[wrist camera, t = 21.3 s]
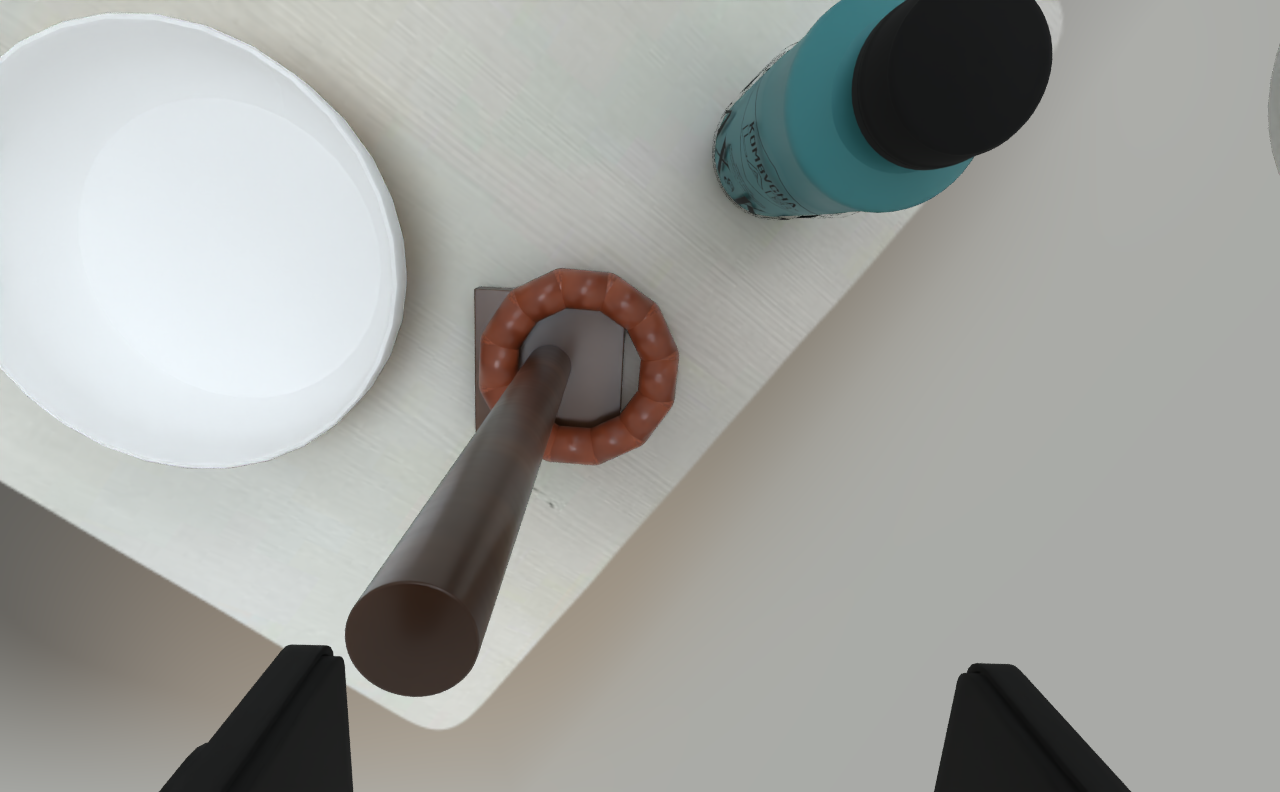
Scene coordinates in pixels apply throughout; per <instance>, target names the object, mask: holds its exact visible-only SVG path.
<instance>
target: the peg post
mask: <svg viewBox="0 0 1280 792" xmlns="http://www.w3.org/2000/svg"><path fill="white" fill-rule="evenodd" d="M513 289H515V288H496V287H478V288H475V289H474V302H475V425H476V433H475V434H474V436H473V437H472V438H471V440H470V441H469V443H468V444H467V446H466V447H465V448H464V450H463V451H462V453H461V454H460V456H459V457H458V458H457V460H456V461H455V463H454V464H453V466H452V467H451V468H450V470H449V471H448V473H447V474H446V476H445V477H444V478H443V480H442V481H441V483H440V484H439V486H438V487H437V488H436V490H435V491H434V493H433V494H432V496H431V497H430V498H429V500H428V501H427V503H426V504H425V506H424V507H423V508H422V510H421V511H420V513H419V514H418V516H417V517H416V518H415V520H414V521H413V523H412V524H411V526H410V527H409V528H408V530H407V531H406V533H405V534H404V536H403V537H402V538H401V540H400V541H399V543H398V544H397V546H396V547H395V548H394V550H393V551H392V553H391V554H390V556H389V557H388V558H387V560H386V561H385V563H384V564H383V566H382V567H381V568H380V570H379V571H378V573H377V574H376V575H375V577H374V578H373V580H372V581H371V583H370V584H369V585H368V587H367V588H366V590H365V591H364V593H363V594H362V595H361V597H360V598H359V600H358V601H357V603H356V604H355V605H354V607H353V608H352V610H351V612H350V614H349V616H348V619H347V622H346V628H345V642H346V648H347V651H348V654H349V656H350V659H351V661H352V662H353V664H354V666H355V667H356V668H357V670H358V671H359V672H360V673H361V674H362V675H363V676H364V677H365V678H366V679H367V680H368V681H370V682H371V683H372V684H374V685H376V686H377V687H379V688H381V689H383V690H385V691H388V692H391V693H394V694H397V695H402V696H410V697H423V696H430V695H434V694H438V693H441V692H443V691H446V690H448V689H450V688H452V687H453V686H455V685H456V684H458V683H459V682H460V681H461V680H462V679H463V678H465V677H466V676H467V674H468V673H469V672H470V671H471V669H472V667H473V666H474V664H475V662H476V659H477V657H478V654H479V651H480V648H481V645H482V642H483V638H484V635H485V632H486V629H487V626H488V623H489V620H490V617H491V614H492V611H493V608H494V605H495V602H496V599H497V596H498V593H499V590H500V587H501V584H502V580H503V577H504V574H505V571H506V568H507V565H508V562H509V559H510V556H511V553H512V550H513V547H514V544H515V541H516V538H517V535H518V532H519V529H520V526H521V522H522V519H523V516H524V513H525V510H526V507H527V504H528V501H529V498H530V495H531V492H532V489H533V486H534V483H535V480H536V477H537V474H538V471H539V468H540V464H541V461H542V458H543V455H544V452H545V449H546V446H547V443H548V440H549V437H550V434H551V431H552V428H553V425H554V423H556V424H557V425H559V426H570V427H583V428H592V427H595V426H597V425H599V424H601V423H603V422H606V421H608V420H610V419H612V418H615V417H617V416H619V415H620V414H621V394H622V374H623V354H624V335H625V328H623V327H622V326H620V325H619V324H617V323H616V322H615V321H613V320H612V319H610V318H609V317H607V316H606V315H605V314H603V313H602V312H600V311H591V310H580V309H569V308H566V309H564V310H562V311H560V312H558V313H555V314H553V315H551V316H549V317H547V318H545V319H543V320H540V321H538V322H537V323H536V324H535V326H534V327H533V329H532V330H531V332H530V333H529V335H528V336H527V338H526V339H525V341H524V342H523V344H522V345H521V347H520V348H519V361H518V373H517V374H516V376H515V377H514V378H513V380H512V381H511V383H510V384H509V386H508V387H507V388H506V390H505V391H504V393H503V394H502V396H501V397H500V398H499V400H498V401H497V403H496V404H495V406H494V407H493V408H492V410H490V409H489V407H488V405H487V403H486V401H485V399H484V398H483V396H482V394H481V392H480V389H479V359H480V338H481V335H482V333H483V331H484V329H485V328H486V326H487V325H488V323H489V322H490V320H491V319H492V317H493V316H494V314H495V313H496V311H497V310H498V308H499V307H500V305H501V304H502V302H503V300H504V299H505V297H506V296H507V295H508V293H509V292H510V291H512V290H513Z"/></svg>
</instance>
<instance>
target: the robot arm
mask: <svg viewBox="0 0 1280 792" xmlns="http://www.w3.org/2000/svg"><path fill="white" fill-rule="evenodd" d="M346 694H347V693H346V678H345V665H344V660H343V658H342V657H340V656H333V651H332V649H331V647H329V646H325V645H288V646H286V647H285V648H284V649H283V650H282V651H281V652H280V653H279V654H278V656H277V657H276V658H275V659H274V661H273V662H272V663H271V664H270V666H269V667H268V668H267V669H266V671H265V672H264V673H263V674H262V676H261V677H260V678H259V679H258V681H257V682H256V683H255V684H254V686H253V687H252V688H251V689H250V691H249V692H248V693H247V694H246V696H245V697H244V698H243V699H242V701H241V702H240V703H239V705H238V706H237V707H236V708H235V709H234V711H233V712H232V713H231V714H230V716H229V717H228V718H227V719H226V721H225V722H224V723H223V724H222V726H221V727H220V728H219V729H218V731H217V732H216V733H215V734H214V736H213V737H212V738H211V739H210V741H209V742H208V743H205V744H203V745H201V746H199V747H197V748H196V749H195V750H194V751H193V752H192V753H191V754H190V755H189V756H188V757H187V758H186V759H185V761H184V762H183V763H182V764H181V766H180V767H179V768H178V769H177V770H176V772H175V773H174V774H173V775H172V777H171V778H170V779H169V780H168V781H167V783H166V784H165V785H164V786H163V788H162V789H161V790H160V791H159V792H353V781H352V766H351V752H350V737H349V722H348V708H347V695H346ZM934 792H1131V791H1130V790H1129V789H1128V788H1127V787H1126V786H1125V785H1124V783H1122V781H1121V780H1120V779H1119V778H1118V777H1117V776H1116V775H1115V774H1114V772H1113V771H1112V770H1111V769H1110V768H1109V767H1108V766H1107V765H1106V764H1105V763H1104V761H1103V760H1102V759H1101V758H1100V757H1099V756H1098V755H1097V754H1096V753H1095V752H1094V751H1093V750H1092V749H1091V747H1090V746H1089V745H1088V744H1087V743H1086V742H1085V741H1084V740H1083V739H1082V737H1081V736H1080V735H1079V734H1078V733H1077V732H1076V731H1075V730H1074V729H1073V728H1072V726H1071V725H1070V724H1069V723H1068V722H1067V721H1066V720H1065V719H1064V718H1063V717H1062V716H1061V714H1060V713H1059V712H1058V711H1057V710H1056V709H1055V708H1054V707H1053V706H1052V705H1051V704H1050V702H1048V700H1047V699H1046V698H1045V697H1044V696H1043V695H1042V694H1041V693H1040V691H1039V690H1038V689H1037V688H1036V687H1035V686H1034V685H1033V684H1032V683H1031V682H1030V680H1028V678H1027V677H1026V676H1025V675H1024V674H1023V673H1022V672H1021V671H1020V670H1019V669H1018V668H1017V667H1016V666H1014V665H1010V664H982V663H976V664H972V665H971V666H970V667H969V668H968V671H967V673H963V674H961V675H960V676H959V678H958V681H957V685H956V690H955V695H954V699H953V704H952V709H951V714H950V718H949V724H948V728H947V732H946V738H945V742H944V747H943V752H942V757H941V761H940V766H939V771H938V775H937V781H936V785H935V790H934Z"/></svg>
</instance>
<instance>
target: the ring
mask: <svg viewBox="0 0 1280 792" xmlns="http://www.w3.org/2000/svg"><path fill="white" fill-rule="evenodd" d="M566 308H569V309H580V310H591V311H600V312H602V313H603V314H605V315H606V316H607V317H609V318H610V319H612V320H613V321H615V322H616V323H617V324H619V325H620V326H622V327H623V328H625V329H626V330H627V331H628V333H629V335H630V337H631V340H632V342H633V344H634V346H635V348H636V350H637V352H638V354H639V357H640V359H641V362H640V373H639V383H638V391H637V392H636V393H635V395H634V396H633V398H632V399H631V400H630V402H629V403H628V404H627V406H626V407H625V409H624V410H623V411H622V413H621V414H620V415H619V416H617V417H615V418H612V419H610V420H608V421H606V422H603V423H601V424H599V425H597V426H595V427H592V428H583V427H570V426H559V425H557V424H556V423H554V425H553V428H552V431H551V434H550V437H549V440H548V443H547V446H546V449H545V452H544V455H543V458H542V459H543V460H545V461H548V462H558V463H571V464H584V465H599V464H602V463H604V462H606V461H608V460H611V459H613V458H615V457H617V456H620V455H622V454H624V453H626V452H629V451H631V450H633V449H635V448H638V447H640V446H641V445H643V444H644V443H645V442H646V441H647V440H648V438H649V437H650V436H651V434H652V433H653V431H654V430H655V429H656V427H657V426H658V425H659V423H660V422H661V421H662V419H663V418H664V417H665V415H666V414H667V413H668V411H669V410H670V409H671V407H672V405H673V403H674V398H675V389H676V380H677V371H678V362H679V351H678V348H677V346H676V344H675V342H674V339H673V337H672V335H671V333H670V331H669V328H668V326H667V324H666V322H665V319H664V317H663V315H662V313H661V311H660V309H659V307H658V305H657V304H656V303H655V302H654V301H652V300H651V299H649V298H648V297H647V296H645V295H644V294H642V293H641V292H639V291H638V290H637V289H635V288H634V287H632V286H631V285H630V284H628V283H627V282H625V281H624V280H623V279H621V278H620V277H618V276H617V275H615V274H613V273H608V272H598V271H587V270H577V269H566V268H560V269H556V270H553V271H551V272H549V273H547V274H545V275H543V276H541V277H538V278H536V279H534V280H532V281H530V282H528V283H526V284H524V285H521V286H519V287H517V288H515V289H513V290H512V291H510V292H509V293H508V295H507V296H506V297H505V299H504V300H503V302H502V304H501V305H500V307H499V308H498V310H497V311H496V313H495V314H494V316H493V317H492V319H491V320H490V322H489V323H488V325H487V326H486V328H485V329H484V331H483V333H482V335H481V338H480V359H479V389H480V392H481V394H482V396H483V398H484V399H485V401H486V403H487V405H488V407H489V409H490V410H492V408H493V407H494V406H495V404H496V403H497V401H498V400H499V398H500V397H501V396H502V394H503V393H504V391H505V390H506V388H507V387H508V386H509V384H510V383H511V381H512V380H513V378H514V377H515V376H516V374H517V373H518V361H519V348H520V347H521V345H522V344H523V342H524V341H525V339H526V338H527V336H528V335H529V333H530V332H531V330H532V329H533V327H534V326H535V324H536V323H537V322H538V321H540V320H543V319H545V318H547V317H549V316H551V315H553V314H555V313H558V312H560V311H562V310H564V309H566Z"/></svg>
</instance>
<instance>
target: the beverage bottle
mask: <svg viewBox="0 0 1280 792" xmlns="http://www.w3.org/2000/svg"><path fill="white" fill-rule="evenodd" d="M795 44H796V43H795ZM792 45H793V44H792ZM790 46H791V45H790ZM788 47H789V46H788ZM785 49H786V48H785ZM788 50H789V49H788ZM785 52H786V51H785ZM783 54H784V52H783ZM776 56H777V55H776ZM777 57H778V56H777ZM779 58H780V56H779ZM773 59H777V62H776V61H775V60H773V61H775V64H774V65H773V66H772V67H771V68H769V69H767V68H766V67H765V68H766V69H767V70H768V71H767V70H766V69H765V72H766V71H767V72H766V73H765V74H764V75H763V76H762V77H761V78H760V79H759V80H758V81H757V82H756V83H755V84H754V85H753V86H752V87H751V88H750V86H749V85H750V84H752V82H753V81H754V80H755V79H756V78H757V77H758V76H759V75H760V74H758V76H757V77H756V78H754V79H753V80H752V81H751V82H750V84H749V85H748V86H749V88H750V89H749V90H748V91H745V90H744V92H746V93H745V94H744V95H743V94H742V95H743V96H741V98H740V99H739V100H738V101H737V102H736V103H735V104H734V105H733V106H732V107H731V108H730V110H726V112H725V111H724V113H726V116H725V117H724V119H723V121H722V123H721V126H720V128H719V129H718V128H716V129H718V133H717V137H716V145H715V159H714V162H716V168H717V170H716V172H718V175H717V176H719V177H718V178H720V181H721V182H720V183H722V185H723V186H722V187H724V189H725V190H726V191H725V192H727V193H728V194H727V193H726V194H727V195H728V197H729V196H730V197H731V198H732V199H733V200H734V201H735V202H736V203H737V204H738V205H740V206H741V207H743V208H744V209H746V210H748V211H749V212H750V213H752V214H755V215H756V214H759V215H763V216H770V217H780V216H797V217H796V218H811V219H812V217H814V218H815V217H816V216H820V214H827V215H828V214H835V215H836V213H841V214H842V213H845V212H856V211H859V212H860V211H863V212H874V213H881V212H893V211H898V210H903V209H907V208H910V207H913V206H916V205H919V204H921V203H923V202H925V201H927V200H930V199H931V198H933V197H935V196H936V195H938V194H939V193H940V192H942V191H943V190H945V189H946V188H947V187H948V186H949V185H951V184H952V183H953V182H954V181H955V180H956V179H957V178H958V177H959V176H960V175H961V174H962V173H963V172H964V170H965V169H966V168H967V166H968V165H969V164H970V162H971V161H972V159H973V158H974V156H976V155H979V154H982V153H985V152H987V151H990V150H992V149H993V148H995V147H997V146H999V145H1001V144H1002V143H1004V142H1005V141H1007V140H1008V139H1009V138H1010V137H1011V136H1013V135H1014V134H1015V133H1016V132H1017V131H1018V130H1019V129H1020V128H1021V127H1022V126H1023V125H1024V124H1025V123H1026V122H1027V121H1028V119H1029V118H1030V116H1031V115H1032V114H1033V113H1034V111H1035V109H1036V107H1037V106H1038V104H1039V102H1040V100H1041V98H1042V96H1043V94H1044V92H1045V89H1046V86H1047V84H1048V80H1049V76H1050V72H1051V65H1052V42H1051V35H1050V31H1049V27H1048V24H1047V21H1046V19H1045V16H1044V14H1043V12H1042V10H1041V9H1040V7H1039V5H1038V4H1037V3H1036V1H1035V0H841V1H839V2H838V3H836V4H835V5H834V6H833V7H831V8H830V9H829V10H828V11H827V12H826V13H825V14H824V15H822V16H821V17H820V18H819V20H818V21H817V22H816V23H815V24H814V25H813V26H812V28H811V29H810V30H809V32H808V33H807V34H806V36H805V37H803V38H802V39H801V40H800V41H799V42H797V44H796V45H795V46H794V47H793V48H792V49H791V50H789V51H787V53H785V54H784V55H783V56H782V55H781V58H780V59H779V60H778V58H773ZM772 63H774V62H772ZM769 64H770V63H769ZM768 66H769V65H768ZM762 71H763V70H762ZM760 73H761V72H760ZM763 73H764V72H763ZM748 86H747V87H748ZM747 87H746V88H747ZM746 88H745V89H746ZM747 89H748V88H747ZM742 92H743V91H742ZM731 104H732V103H731ZM731 104H729V105H731ZM726 109H727V108H726ZM721 119H722V118H721ZM719 123H720V122H719ZM717 126H718V125H717ZM715 132H716V131H715ZM714 136H715V135H714ZM713 141H714V140H713ZM714 143H715V141H714ZM712 158H713V148H712ZM713 166H714V164H713ZM714 170H715V169H714ZM715 174H716V173H715ZM717 176H716V177H717ZM717 180H718V179H717ZM723 192H724V191H723ZM726 194H725V195H726ZM731 198H730V199H731ZM730 199H729V200H730ZM732 199H731V200H732ZM731 200H730V201H731ZM731 202H732V201H731ZM735 202H734V203H735ZM737 204H736V205H737ZM734 205H735V204H734ZM741 207H740V208H741ZM740 208H739V209H740ZM741 209H742V208H741ZM742 211H743V210H742ZM744 211H745V210H744ZM857 213H858V212H857ZM854 214H855V213H854ZM800 215H802V216H800ZM803 215H809V216H803ZM838 215H839V214H838ZM852 215H853V214H852ZM752 216H753V215H752ZM798 216H800V217H798ZM830 216H831V215H830ZM832 216H833V215H832ZM757 217H758V215H757ZM770 217H763V218H770ZM821 217H822V216H821ZM823 217H824V216H823ZM758 218H759V217H758ZM760 218H761V216H760ZM763 218H762V219H763ZM819 218H820V217H819ZM828 218H831V217H828ZM841 218H842V217H841ZM772 219H773V218H772ZM792 219H793V218H792ZM817 219H818V218H817ZM779 220H789V219H786V218H781V219H779Z"/></svg>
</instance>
